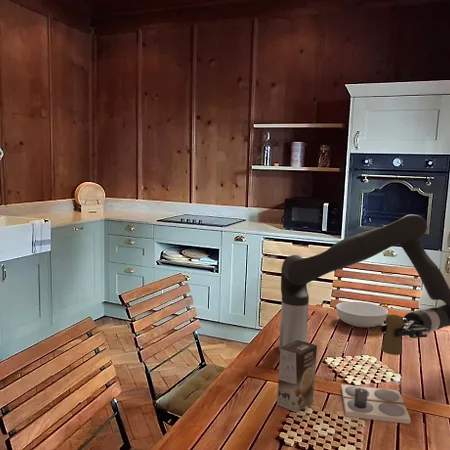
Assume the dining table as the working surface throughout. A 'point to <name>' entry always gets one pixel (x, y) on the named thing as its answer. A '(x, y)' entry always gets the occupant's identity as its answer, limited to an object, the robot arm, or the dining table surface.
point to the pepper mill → (392, 335)
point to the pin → (360, 398)
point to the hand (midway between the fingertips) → (388, 331)
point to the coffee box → (296, 375)
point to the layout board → (376, 404)
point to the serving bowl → (361, 314)
